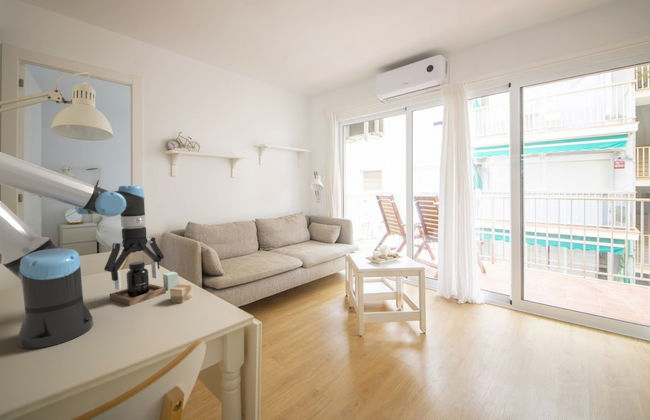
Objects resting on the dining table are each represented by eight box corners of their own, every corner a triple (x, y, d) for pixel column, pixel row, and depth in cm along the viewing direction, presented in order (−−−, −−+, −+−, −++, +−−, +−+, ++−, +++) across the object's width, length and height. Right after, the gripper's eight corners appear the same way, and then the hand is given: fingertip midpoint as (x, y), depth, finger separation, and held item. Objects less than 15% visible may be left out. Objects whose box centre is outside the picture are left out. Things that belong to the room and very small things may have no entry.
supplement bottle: (141, 297, 101) (138, 265, 100) (123, 297, 101) (120, 265, 100) (153, 290, 108) (151, 260, 107) (136, 290, 108) (134, 260, 107)
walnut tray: (130, 305, 96) (129, 300, 96) (110, 299, 102) (109, 294, 102) (166, 292, 107) (165, 287, 107) (146, 287, 113) (145, 282, 113)
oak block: (182, 303, 98) (182, 289, 97) (170, 302, 99) (169, 288, 98) (192, 297, 103) (191, 284, 102) (180, 296, 104) (180, 283, 103)
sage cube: (168, 290, 110) (167, 275, 110) (163, 288, 113) (163, 273, 112) (178, 287, 113) (177, 273, 113) (174, 285, 116) (173, 271, 115)
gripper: (100, 232, 90) (105, 296, 91) (171, 223, 111) (174, 274, 113) (88, 231, 93) (93, 292, 95) (160, 222, 115) (163, 272, 117)
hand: (137, 283), depth 104 cm, fingers open, 12 cm apart
